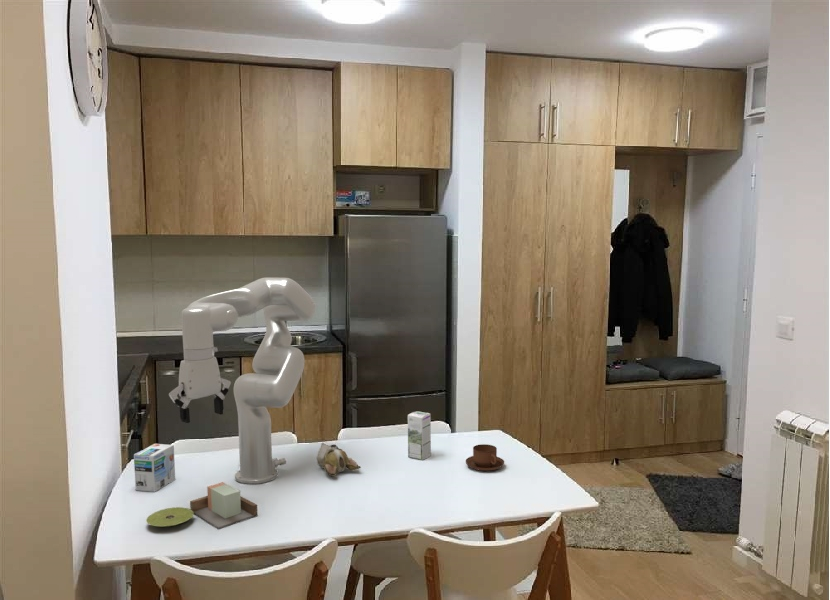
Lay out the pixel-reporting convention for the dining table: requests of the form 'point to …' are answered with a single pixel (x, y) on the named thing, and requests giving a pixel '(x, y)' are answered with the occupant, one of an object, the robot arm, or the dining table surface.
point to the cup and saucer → (484, 458)
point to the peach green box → (224, 500)
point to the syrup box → (419, 435)
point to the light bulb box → (154, 467)
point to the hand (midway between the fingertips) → (202, 417)
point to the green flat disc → (170, 516)
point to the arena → (218, 521)
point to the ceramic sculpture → (334, 459)
